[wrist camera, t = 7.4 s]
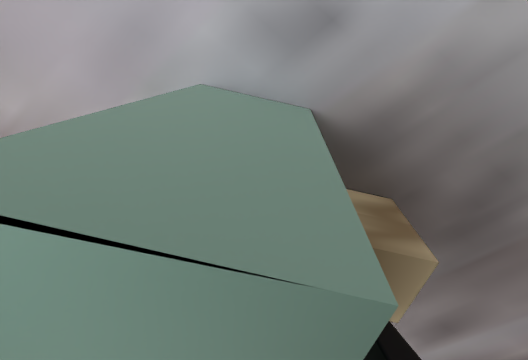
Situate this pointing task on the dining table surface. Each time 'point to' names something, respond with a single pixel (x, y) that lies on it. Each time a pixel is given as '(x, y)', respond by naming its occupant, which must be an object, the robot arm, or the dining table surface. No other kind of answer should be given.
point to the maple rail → (395, 248)
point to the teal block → (184, 237)
